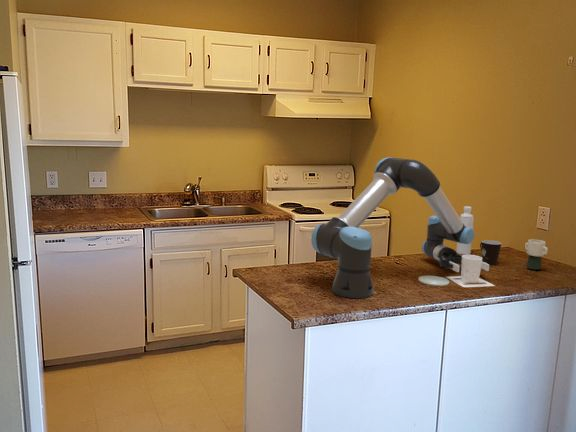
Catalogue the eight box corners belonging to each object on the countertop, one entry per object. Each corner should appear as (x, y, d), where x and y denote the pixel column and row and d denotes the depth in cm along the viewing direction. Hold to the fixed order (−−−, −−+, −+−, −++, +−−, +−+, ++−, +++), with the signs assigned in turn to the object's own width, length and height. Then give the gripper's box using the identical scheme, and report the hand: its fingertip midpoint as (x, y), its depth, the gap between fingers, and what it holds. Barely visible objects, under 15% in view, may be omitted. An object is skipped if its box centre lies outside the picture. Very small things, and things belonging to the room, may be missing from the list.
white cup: (456, 280, 209) (458, 256, 207) (464, 276, 215) (466, 253, 213) (475, 285, 204) (477, 260, 202) (483, 281, 209) (485, 257, 208)
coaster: (427, 286, 200) (427, 285, 200) (413, 277, 212) (413, 276, 212) (455, 285, 203) (455, 283, 203) (439, 276, 215) (439, 275, 215)
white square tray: (464, 287, 201) (464, 287, 201) (445, 277, 214) (445, 276, 214) (495, 286, 204) (495, 285, 204) (474, 275, 218) (474, 275, 217)
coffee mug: (500, 266, 234) (503, 245, 232) (481, 264, 236) (483, 243, 234) (496, 260, 245) (498, 239, 244) (477, 258, 247) (479, 238, 245)
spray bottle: (455, 250, 261) (459, 202, 256) (468, 251, 260) (473, 203, 256) (457, 254, 254) (462, 204, 250) (471, 255, 253) (476, 205, 249)
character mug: (549, 271, 229) (553, 243, 226) (539, 273, 225) (543, 244, 223) (527, 265, 238) (531, 237, 236) (517, 266, 234) (521, 239, 232)
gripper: (469, 262, 231) (499, 276, 211) (419, 264, 225) (445, 278, 205) (471, 246, 230) (501, 258, 209) (420, 247, 223) (446, 260, 203)
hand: (473, 268), depth 207 cm, fingers open, 13 cm apart
